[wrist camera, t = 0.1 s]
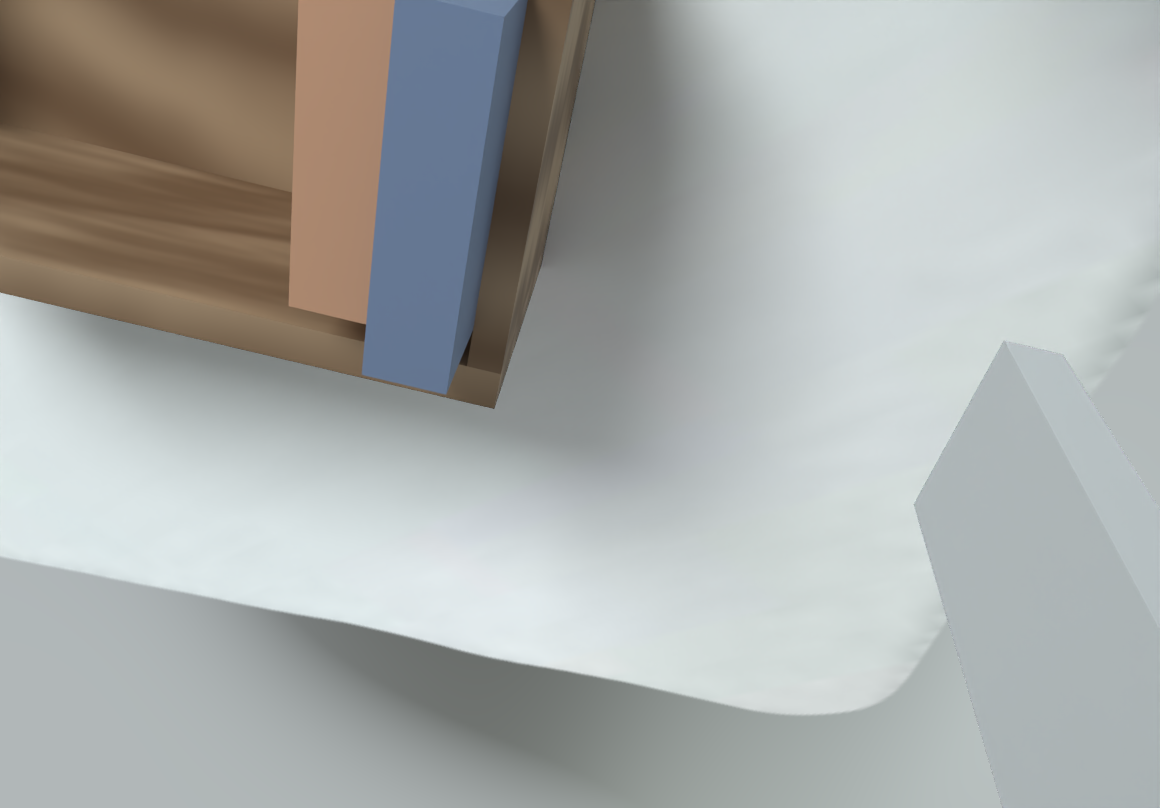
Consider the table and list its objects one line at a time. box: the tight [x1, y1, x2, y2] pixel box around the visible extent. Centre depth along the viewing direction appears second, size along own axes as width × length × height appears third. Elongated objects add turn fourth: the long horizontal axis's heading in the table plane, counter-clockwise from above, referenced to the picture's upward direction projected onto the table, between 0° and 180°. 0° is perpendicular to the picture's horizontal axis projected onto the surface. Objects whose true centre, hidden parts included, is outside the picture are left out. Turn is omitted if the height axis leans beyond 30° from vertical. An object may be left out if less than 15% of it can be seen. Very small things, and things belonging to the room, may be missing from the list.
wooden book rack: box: [0, 0, 595, 409], centre depth 33 cm, size 17×28×12 cm, turn 78°
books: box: [289, 0, 528, 395], centre depth 31 cm, size 11×6×14 cm, turn 168°
